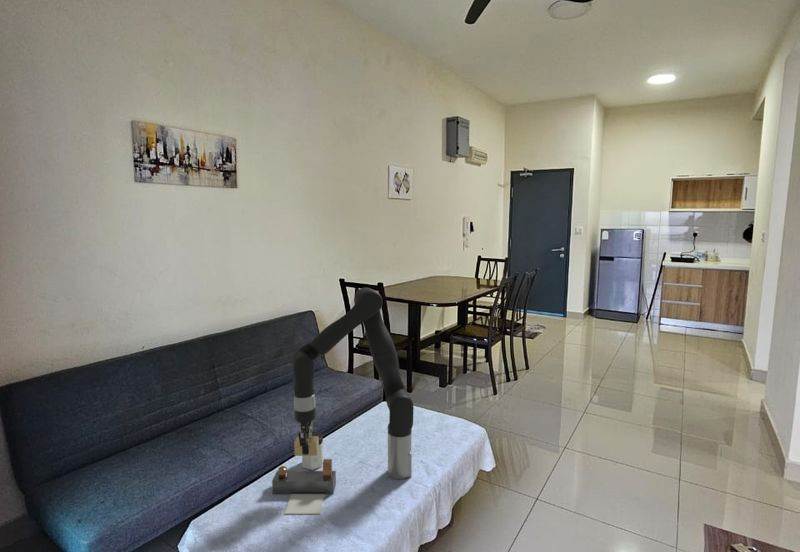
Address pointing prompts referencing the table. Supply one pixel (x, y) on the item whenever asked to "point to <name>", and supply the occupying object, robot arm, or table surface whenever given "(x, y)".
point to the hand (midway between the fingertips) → (307, 450)
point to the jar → (314, 461)
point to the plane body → (305, 481)
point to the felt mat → (305, 504)
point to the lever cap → (312, 445)
